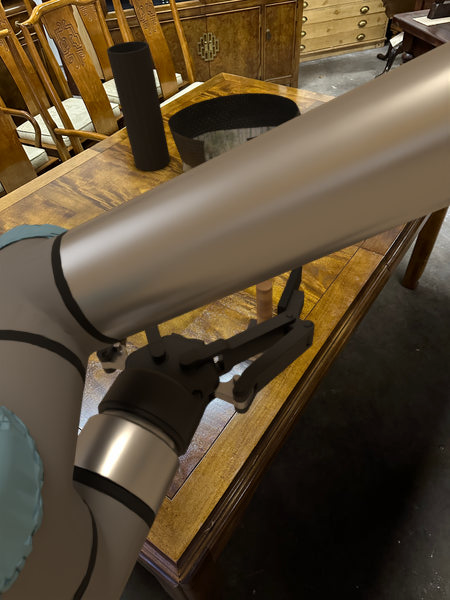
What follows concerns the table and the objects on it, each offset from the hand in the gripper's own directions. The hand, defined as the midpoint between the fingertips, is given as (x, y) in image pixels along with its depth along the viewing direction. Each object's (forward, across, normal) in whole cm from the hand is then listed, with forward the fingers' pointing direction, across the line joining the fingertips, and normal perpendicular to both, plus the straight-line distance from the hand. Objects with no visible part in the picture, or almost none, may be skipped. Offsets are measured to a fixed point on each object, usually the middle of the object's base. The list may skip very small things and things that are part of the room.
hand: (236, 259), depth 45 cm
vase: (+66, -52, -28) cm, 88 cm away
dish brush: (+10, 0, -28) cm, 30 cm away
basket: (+66, -24, -28) cm, 76 cm away
